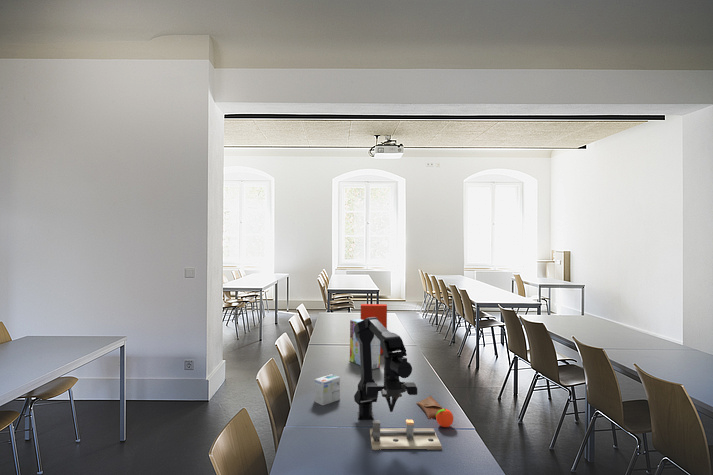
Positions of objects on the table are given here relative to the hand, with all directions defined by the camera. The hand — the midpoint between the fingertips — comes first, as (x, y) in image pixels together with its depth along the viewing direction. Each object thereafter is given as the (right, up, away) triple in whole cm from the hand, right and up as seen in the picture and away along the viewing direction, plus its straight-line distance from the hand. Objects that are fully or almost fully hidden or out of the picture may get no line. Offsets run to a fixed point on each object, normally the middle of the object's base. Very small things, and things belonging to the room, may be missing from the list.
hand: (391, 411), depth 153 cm
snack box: (-8, -12, +94) cm, 96 cm away
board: (+5, -11, +1) cm, 12 cm away
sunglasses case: (+20, -12, +28) cm, 36 cm away
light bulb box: (-27, -11, +38) cm, 48 cm away
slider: (+7, -10, 0) cm, 12 cm away
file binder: (-2, -12, +120) cm, 120 cm away
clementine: (+22, -12, +12) cm, 28 cm away
